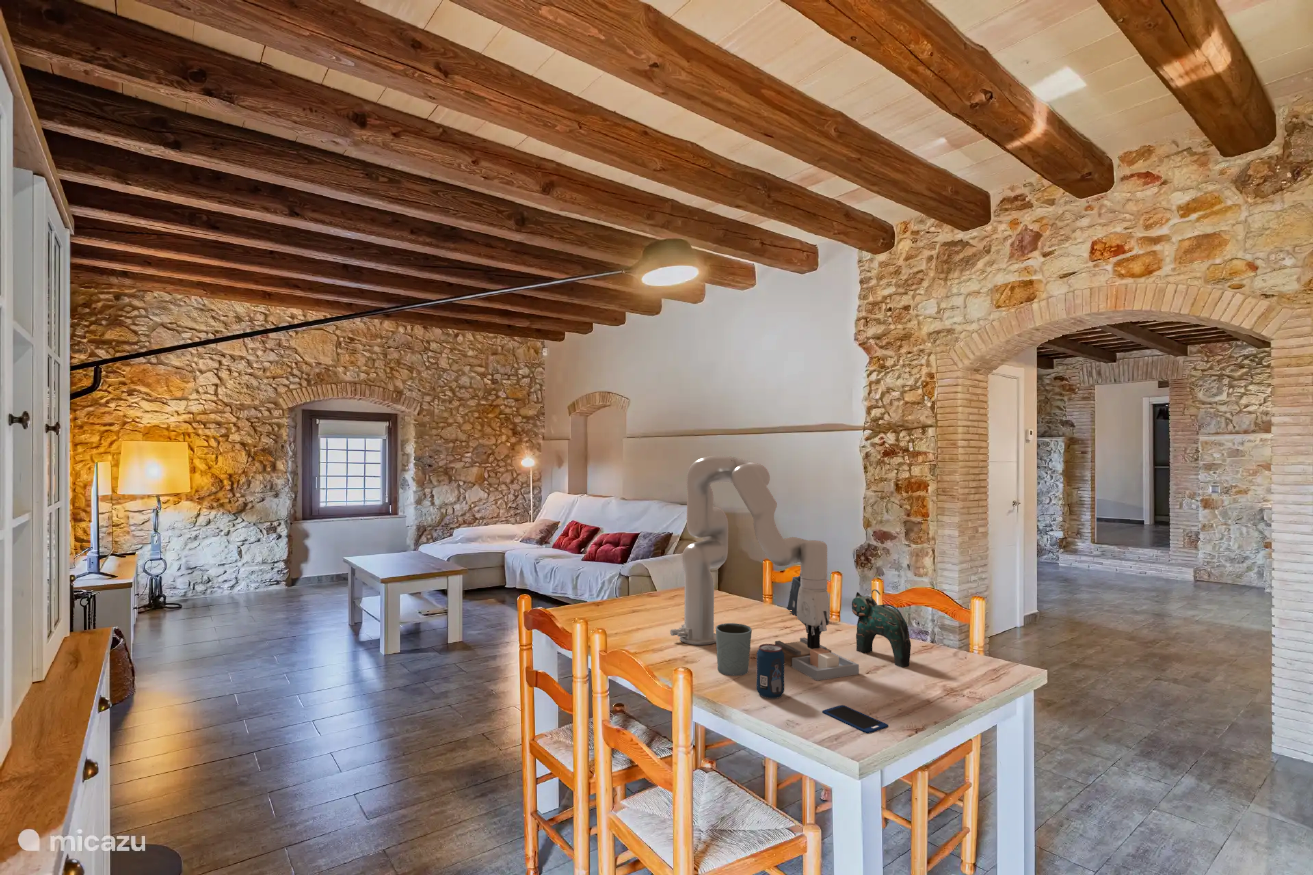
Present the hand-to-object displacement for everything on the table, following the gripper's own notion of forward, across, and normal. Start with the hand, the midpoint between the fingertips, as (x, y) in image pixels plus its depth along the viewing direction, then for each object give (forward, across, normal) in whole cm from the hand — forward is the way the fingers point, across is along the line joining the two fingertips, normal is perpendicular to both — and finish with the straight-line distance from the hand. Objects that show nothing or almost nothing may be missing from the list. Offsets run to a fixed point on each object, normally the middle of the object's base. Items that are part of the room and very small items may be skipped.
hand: (813, 647), depth 191 cm
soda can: (+5, +15, -24) cm, 29 cm away
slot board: (+5, -6, 0) cm, 8 cm away
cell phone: (+6, +35, -14) cm, 38 cm away
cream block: (+2, +5, 0) cm, 6 cm away
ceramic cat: (+5, +2, +23) cm, 24 cm away
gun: (+5, -46, +28) cm, 54 cm away
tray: (+5, +5, 0) cm, 7 cm away
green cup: (+5, -4, -24) cm, 25 cm away
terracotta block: (+4, +3, 0) cm, 5 cm away
